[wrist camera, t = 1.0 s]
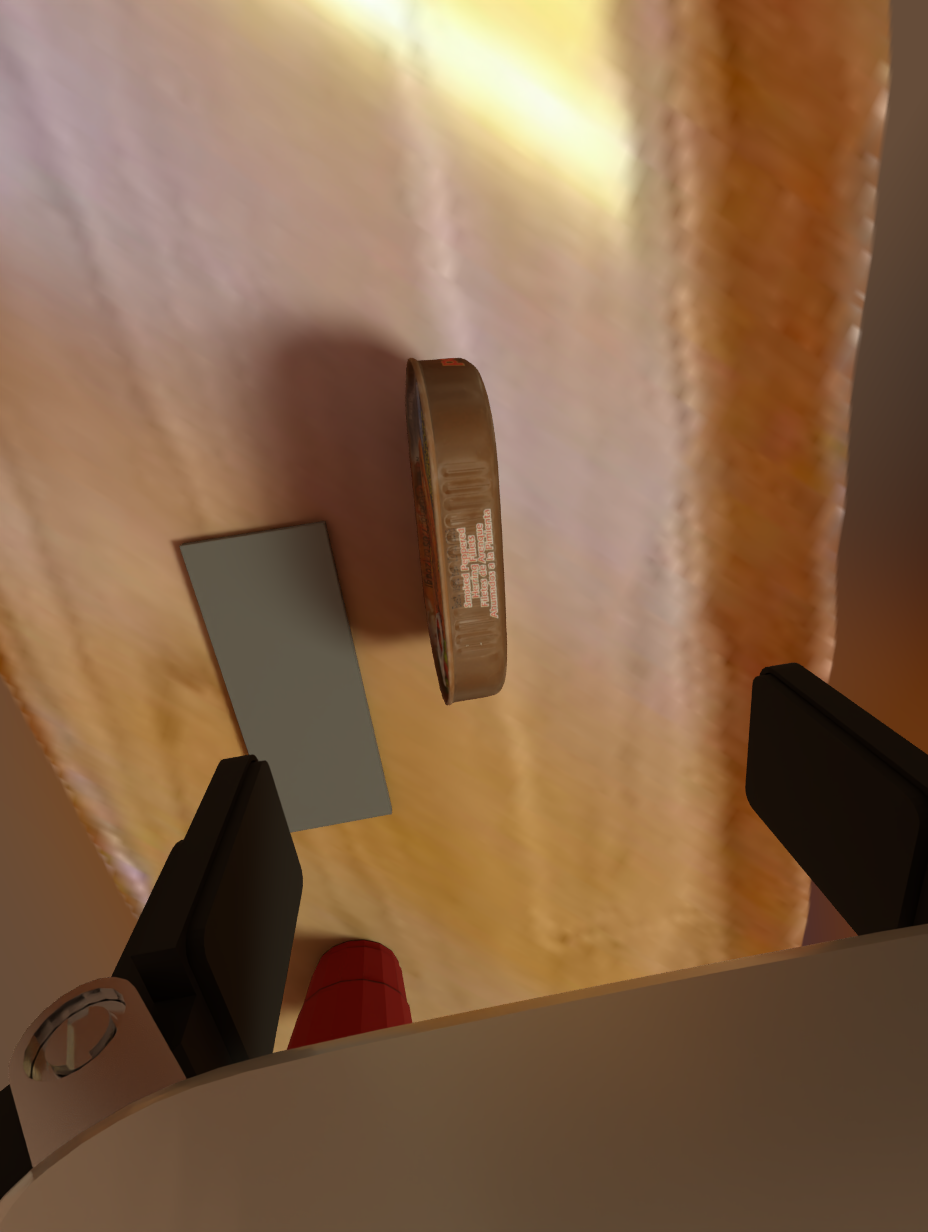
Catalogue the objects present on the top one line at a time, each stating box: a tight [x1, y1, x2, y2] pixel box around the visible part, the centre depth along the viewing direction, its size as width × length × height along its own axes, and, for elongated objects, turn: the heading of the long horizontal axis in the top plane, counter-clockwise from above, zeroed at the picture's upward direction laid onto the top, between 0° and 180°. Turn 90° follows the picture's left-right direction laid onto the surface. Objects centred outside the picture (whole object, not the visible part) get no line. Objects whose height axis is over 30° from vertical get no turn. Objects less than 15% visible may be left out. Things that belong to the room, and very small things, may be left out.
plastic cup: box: [287, 940, 412, 1050], centre depth 35 cm, size 11×11×12 cm
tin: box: [405, 358, 507, 705], centre depth 26 cm, size 15×3×8 cm, turn 4°
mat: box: [179, 521, 392, 832], centre depth 32 cm, size 18×7×1 cm, turn 8°
